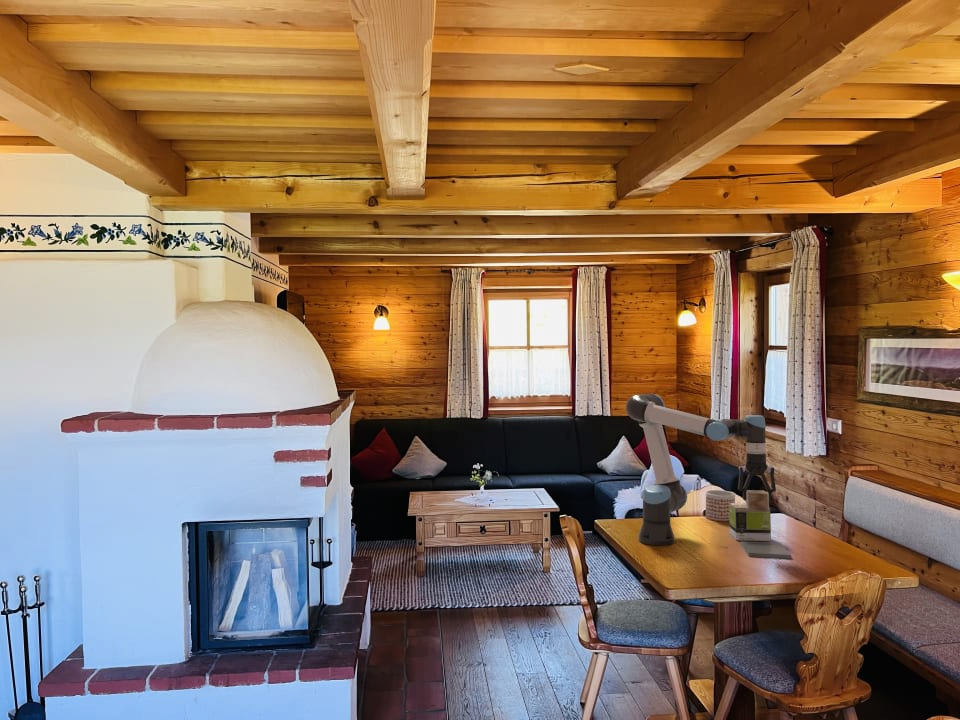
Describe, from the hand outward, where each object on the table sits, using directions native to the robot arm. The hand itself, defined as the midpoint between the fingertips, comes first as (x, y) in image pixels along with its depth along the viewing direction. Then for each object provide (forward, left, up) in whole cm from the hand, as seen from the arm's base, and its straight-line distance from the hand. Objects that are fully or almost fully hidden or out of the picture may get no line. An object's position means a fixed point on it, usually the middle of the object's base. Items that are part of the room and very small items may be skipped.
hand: (757, 508), depth 269 cm
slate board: (+3, 0, -18) cm, 18 cm away
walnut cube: (0, 0, 0) cm, 0 cm away
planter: (-6, +54, -18) cm, 58 cm away
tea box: (+1, +20, -18) cm, 27 cm away
